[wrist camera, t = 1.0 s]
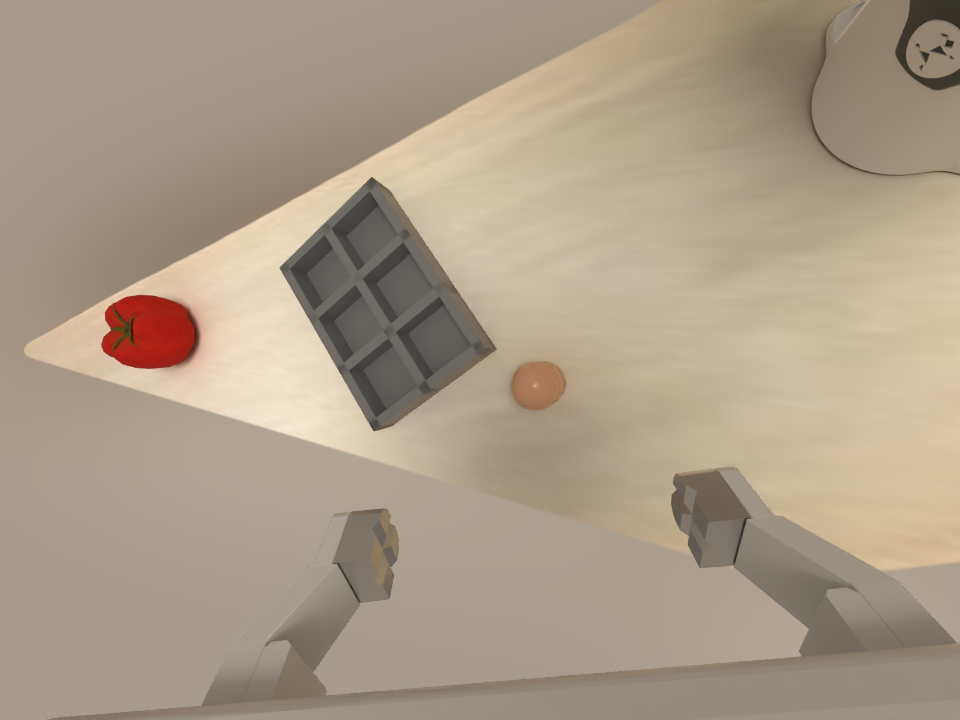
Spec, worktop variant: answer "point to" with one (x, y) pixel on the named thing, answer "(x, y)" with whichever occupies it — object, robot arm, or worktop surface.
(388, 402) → the egg carton
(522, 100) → the worktop surface
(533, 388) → the terracotta egg
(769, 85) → the worktop surface
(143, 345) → the tomato
